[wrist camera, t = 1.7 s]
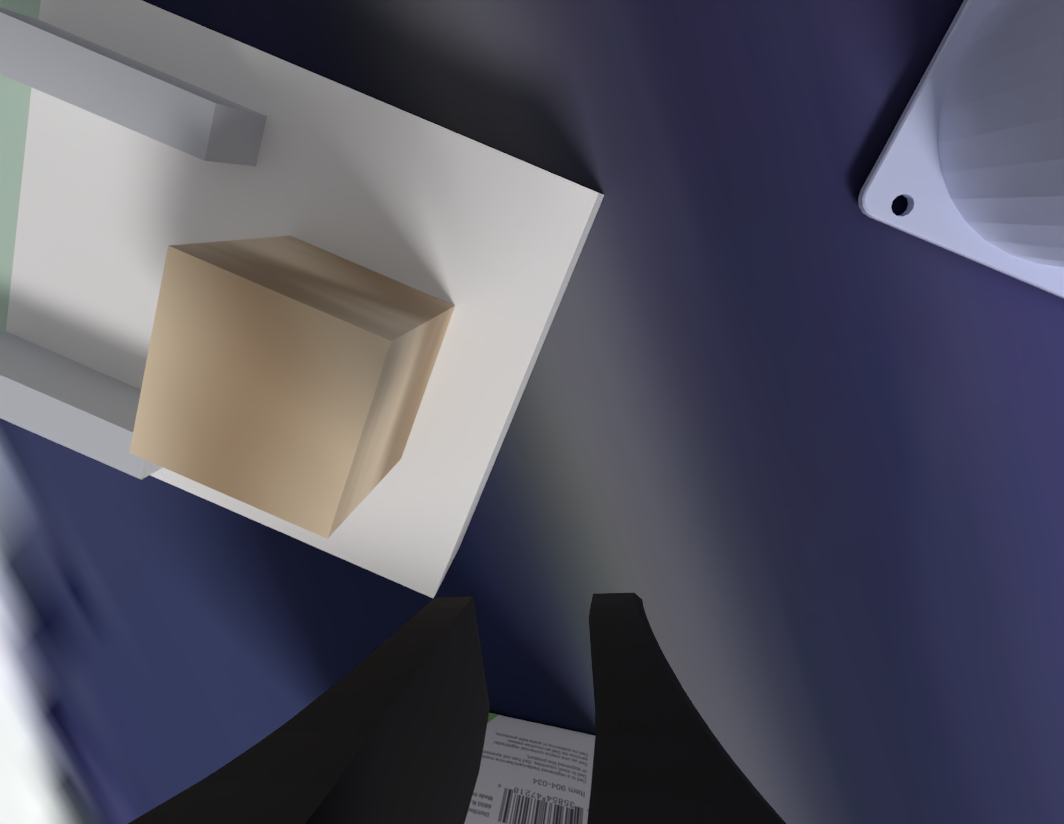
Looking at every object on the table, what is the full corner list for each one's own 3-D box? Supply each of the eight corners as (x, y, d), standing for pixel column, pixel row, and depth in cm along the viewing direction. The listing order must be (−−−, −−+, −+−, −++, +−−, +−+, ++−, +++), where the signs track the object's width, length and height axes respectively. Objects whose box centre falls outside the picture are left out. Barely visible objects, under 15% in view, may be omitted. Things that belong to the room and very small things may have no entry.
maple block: (455, 305, 16) (391, 340, 12) (401, 458, 18) (327, 538, 13) (289, 235, 16) (168, 245, 12) (250, 393, 18) (129, 452, 13)
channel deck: (604, 195, 18) (594, 191, 13) (459, 547, 22) (411, 642, 17) (-332, -199, 18) (-671, -342, 13) (-304, 216, 22) (-558, 218, 17)
